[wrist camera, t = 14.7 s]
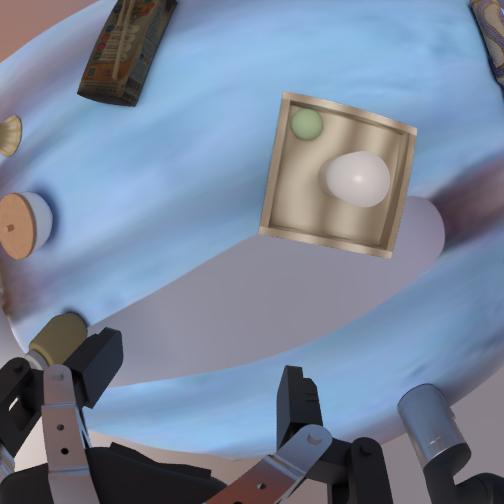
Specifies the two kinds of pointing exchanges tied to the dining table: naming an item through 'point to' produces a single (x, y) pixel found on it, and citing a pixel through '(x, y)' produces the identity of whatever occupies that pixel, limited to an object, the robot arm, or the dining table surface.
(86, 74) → the beverage carton
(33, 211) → the lidded jar
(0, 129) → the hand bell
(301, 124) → the green ball
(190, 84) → the dining table surface
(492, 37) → the decorative bottle
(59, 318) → the squeeze bottle
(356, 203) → the white dome-topped cylinder
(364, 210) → the tray
